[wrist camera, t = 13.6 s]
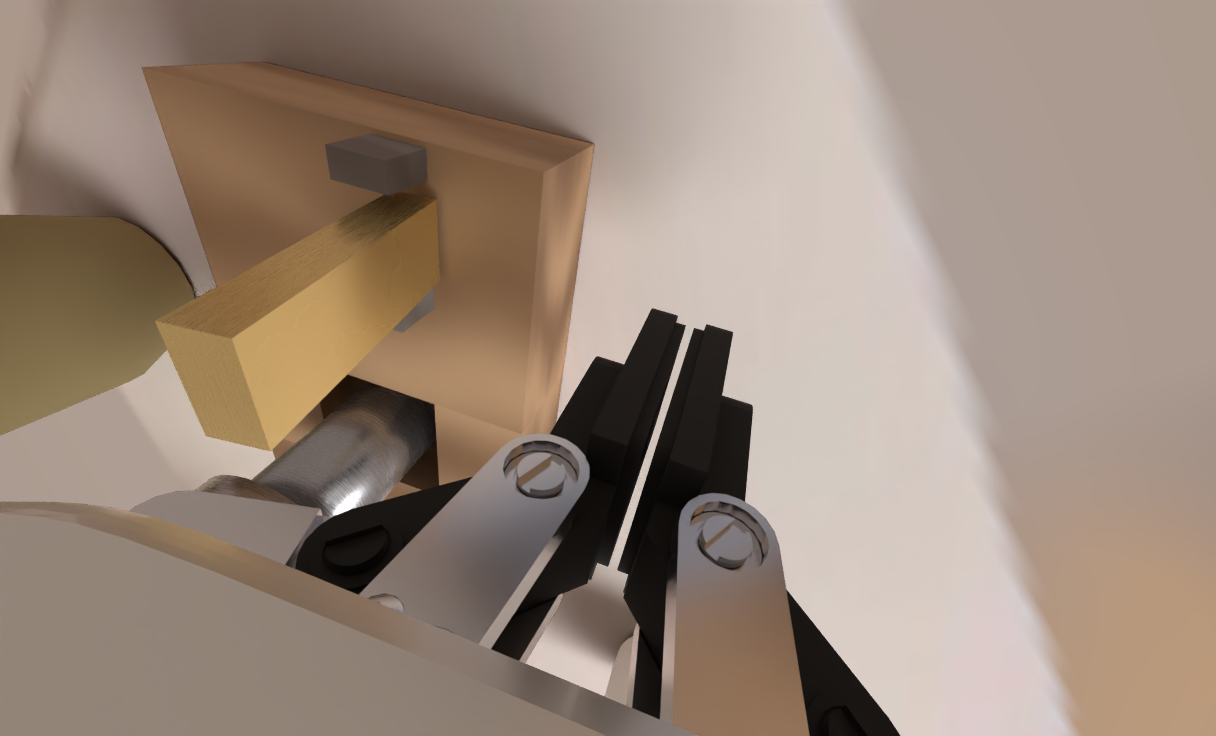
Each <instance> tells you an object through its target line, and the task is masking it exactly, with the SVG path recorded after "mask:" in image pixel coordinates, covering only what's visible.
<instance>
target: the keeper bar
mask: <svg viewBox="0 0 1216 736" xmlns="http://www.w3.org/2000/svg"><path fill="white" fill-rule="evenodd" d="M439 282H440V268H439V244H438V220H437V199H432V198H428V197H423V196H419V195H414V194H409V193H405V192H397V193H395V194H392V195H390V196H388V195H382V196H380V197H379V198H377V199H375V200H373V201H371V202H370V203H368V204H366V205H364V206H362V207H360V208H359V209H357V210H355V211H353V212H351V213H350V214H348V215H346V216H344V217H342V218H341V219H339V220H337V221H335V222H333V223H331V224H330V225H328V226H326V227H324V228H322V229H321V230H319V231H317V232H315V233H313V234H311V235H310V236H308V237H306V238H304V239H302V240H301V241H299V242H297V243H295V244H293V245H292V246H290V247H288V248H286V249H284V250H282V251H281V252H279V253H277V254H275V255H273V256H272V257H270V258H268V259H266V260H264V261H263V262H261V263H259V264H257V265H255V266H253V267H252V268H250V269H248V270H246V271H244V272H243V273H241V274H239V275H237V276H235V277H233V278H232V279H230V280H228V281H226V282H224V283H223V284H221V285H219V286H217V287H215V288H214V289H212V290H210V291H208V292H206V293H204V294H203V295H201V296H199V297H197V298H195V299H194V300H192V301H190V302H188V303H186V304H185V305H183V306H181V307H179V308H177V309H175V310H174V311H172V312H170V313H168V314H166V315H165V316H163V317H161V318H159V319H157V320H155V323H156V325H157V327H158V330H159V332H160V334H161V336H162V339H163V341H164V343H165V345H166V348H167V350H168V352H169V354H170V357H171V359H172V361H173V363H174V366H175V368H176V370H177V372H178V375H179V377H180V379H181V381H182V384H183V386H184V388H185V390H186V392H187V395H188V397H189V399H190V401H191V404H192V406H193V408H194V410H195V413H196V415H197V417H198V419H199V422H200V424H201V426H202V428H203V431H204V433H205V435H206V436H208V437H212V438H217V439H221V440H225V441H229V442H234V443H238V444H242V445H246V446H251V447H255V448H259V449H263V450H268V451H271V450H272V449H273V448H274V447H275V446H276V445H277V444H278V443H279V442H280V441H281V440H282V439H283V438H284V437H285V436H286V435H287V434H288V433H289V432H290V431H291V430H292V429H293V428H294V427H295V426H296V425H297V424H298V423H299V422H300V421H301V420H302V419H303V418H304V417H305V416H306V415H307V414H308V413H309V412H310V411H311V410H312V409H313V408H314V407H315V406H316V405H317V404H318V403H319V402H320V401H321V400H322V399H323V398H324V397H325V396H326V395H327V394H328V393H329V392H330V391H331V390H332V389H333V388H334V387H335V386H336V385H337V384H338V383H339V382H340V381H341V380H342V379H343V378H344V377H345V376H346V375H347V374H348V373H349V372H350V371H351V370H352V369H353V368H354V367H355V366H356V365H357V364H358V363H359V362H360V361H361V360H362V359H363V358H364V357H365V356H366V355H367V354H368V353H369V352H370V351H371V350H372V349H373V348H374V347H375V346H376V345H377V344H378V343H379V342H380V341H381V340H382V339H383V338H384V337H385V336H386V335H387V334H388V333H389V332H390V331H391V330H392V329H393V328H394V327H395V326H396V325H397V324H398V323H399V322H400V321H401V320H402V319H403V318H404V317H405V316H406V315H407V314H408V313H409V312H410V311H411V310H412V309H413V308H414V307H415V306H416V305H417V304H418V303H419V302H420V301H421V300H422V299H423V298H424V297H425V296H426V295H427V294H428V293H429V292H430V291H431V290H432V289H433V288H434V287H435V286H436V285H437V284H438V283H439Z"/></svg>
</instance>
